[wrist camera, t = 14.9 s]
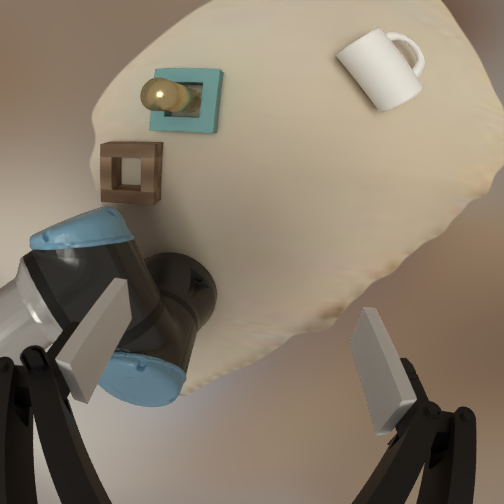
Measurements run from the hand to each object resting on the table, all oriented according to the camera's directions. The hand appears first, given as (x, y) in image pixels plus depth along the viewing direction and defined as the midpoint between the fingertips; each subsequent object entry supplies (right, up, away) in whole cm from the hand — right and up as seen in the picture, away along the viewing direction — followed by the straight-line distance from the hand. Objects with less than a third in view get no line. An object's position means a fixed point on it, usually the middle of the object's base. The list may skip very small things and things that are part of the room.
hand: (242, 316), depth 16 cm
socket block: (-9, +25, +22) cm, 35 cm away
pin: (-9, +25, +22) cm, 35 cm away
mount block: (-18, +16, +27) cm, 36 cm away
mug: (+19, +31, +19) cm, 41 cm away
